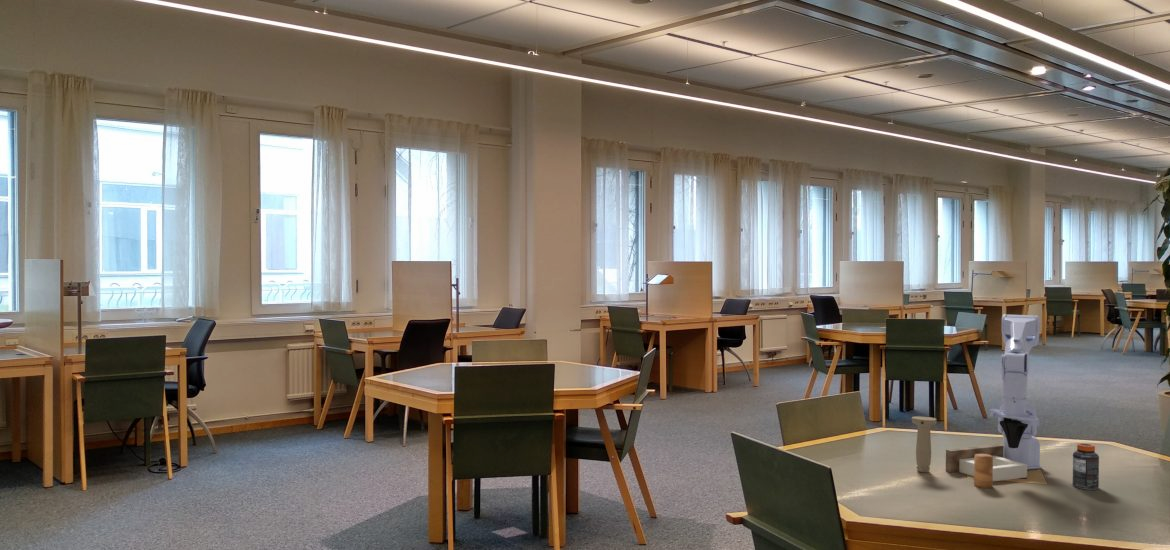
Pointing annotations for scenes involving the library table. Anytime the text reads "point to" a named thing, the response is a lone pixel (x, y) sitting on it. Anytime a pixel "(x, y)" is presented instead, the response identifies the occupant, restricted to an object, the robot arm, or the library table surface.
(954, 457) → the wall
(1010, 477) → the socket block
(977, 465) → the dowel
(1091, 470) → the pill bottle
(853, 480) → the library table surface
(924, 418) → the handle
